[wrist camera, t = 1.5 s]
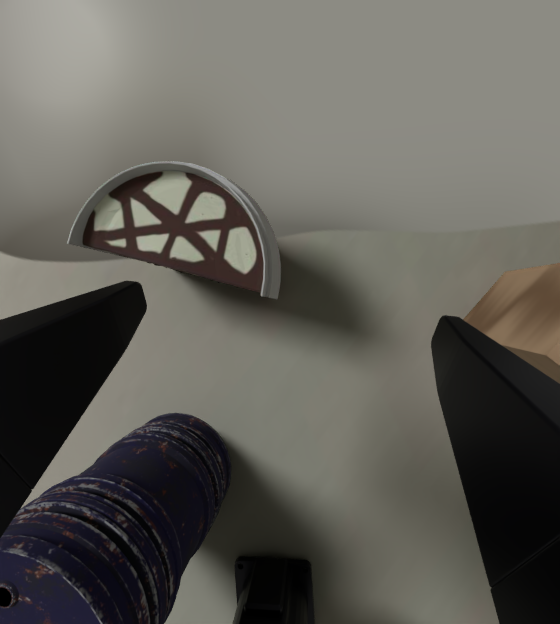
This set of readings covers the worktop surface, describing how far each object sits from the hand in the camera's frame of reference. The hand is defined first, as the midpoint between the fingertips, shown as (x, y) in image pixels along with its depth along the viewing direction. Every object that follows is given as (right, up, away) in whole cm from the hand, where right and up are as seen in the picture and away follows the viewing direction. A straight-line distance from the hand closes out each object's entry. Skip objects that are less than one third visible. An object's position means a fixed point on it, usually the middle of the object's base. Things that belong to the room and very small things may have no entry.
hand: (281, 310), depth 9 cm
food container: (-4, +6, +17) cm, 18 cm away
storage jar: (-9, -14, +18) cm, 24 cm away
